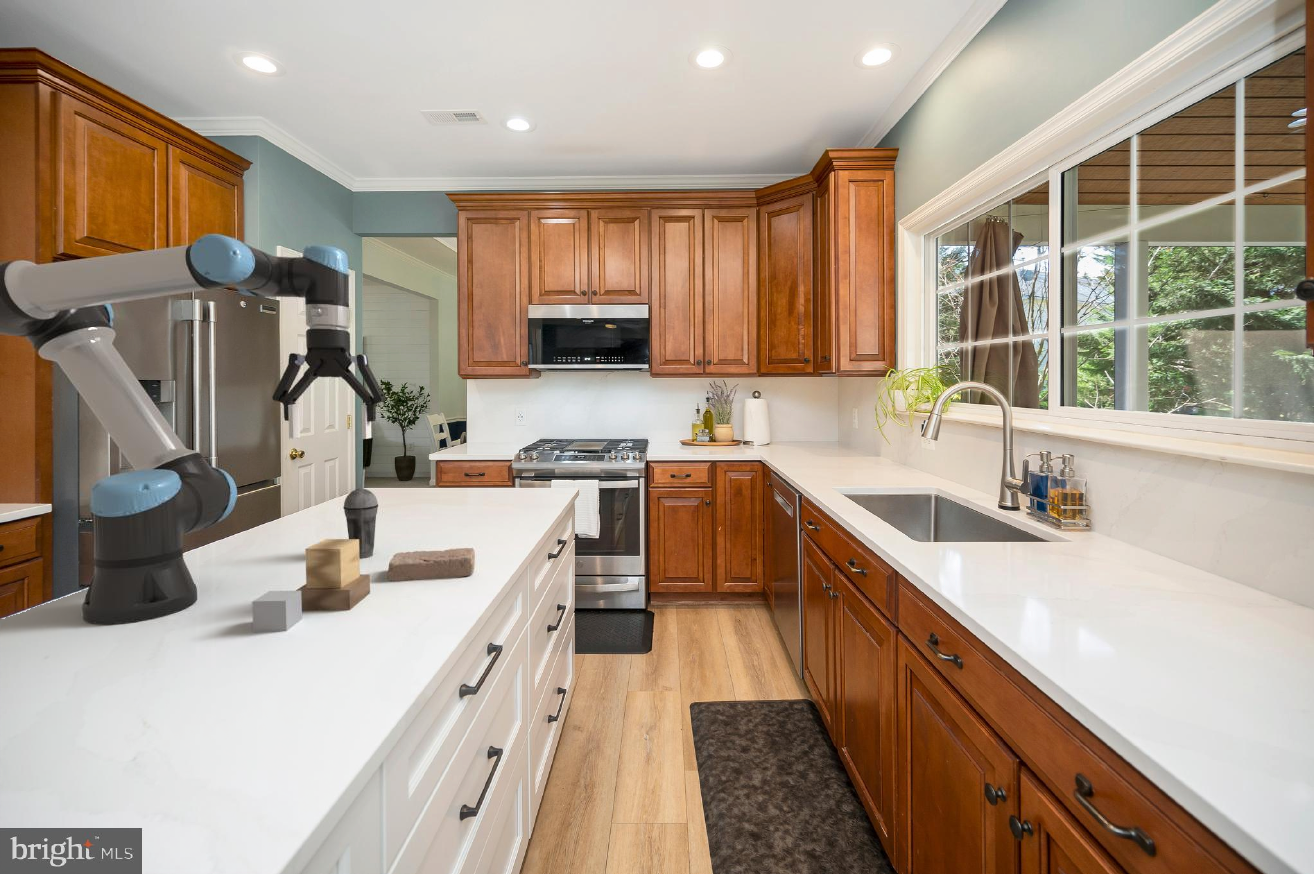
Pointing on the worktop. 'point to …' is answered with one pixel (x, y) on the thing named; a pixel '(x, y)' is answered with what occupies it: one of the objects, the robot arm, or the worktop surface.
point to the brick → (431, 564)
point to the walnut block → (335, 595)
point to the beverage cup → (361, 518)
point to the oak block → (332, 563)
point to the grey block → (277, 611)
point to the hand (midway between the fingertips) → (331, 438)
